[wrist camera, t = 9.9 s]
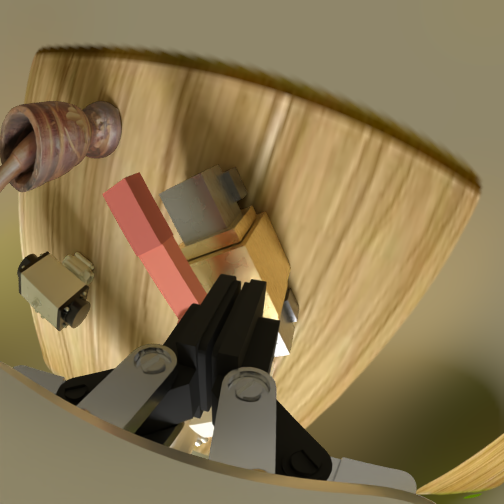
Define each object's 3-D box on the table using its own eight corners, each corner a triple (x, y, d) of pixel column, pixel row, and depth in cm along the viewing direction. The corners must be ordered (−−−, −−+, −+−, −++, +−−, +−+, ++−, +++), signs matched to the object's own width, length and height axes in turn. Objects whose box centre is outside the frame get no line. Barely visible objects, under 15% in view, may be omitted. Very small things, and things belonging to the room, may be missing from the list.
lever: (238, 330, 23) (231, 346, 21) (201, 338, 24) (193, 354, 22) (145, 168, 19) (129, 174, 17) (112, 191, 20) (96, 198, 18)
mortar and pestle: (113, 194, 35) (-15, 264, 17) (69, 173, 35) (-50, 226, 17) (133, 105, 29) (-21, 126, 12) (84, 92, 29) (-53, 111, 12)
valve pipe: (309, 312, 36) (299, 390, 25) (251, 326, 38) (223, 398, 28) (240, 154, 29) (190, 178, 19) (177, 184, 32) (110, 221, 22)
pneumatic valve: (62, 233, 40) (7, 268, 29) (115, 276, 40) (63, 323, 30) (58, 258, 42) (8, 294, 32) (108, 299, 43) (62, 346, 33)
